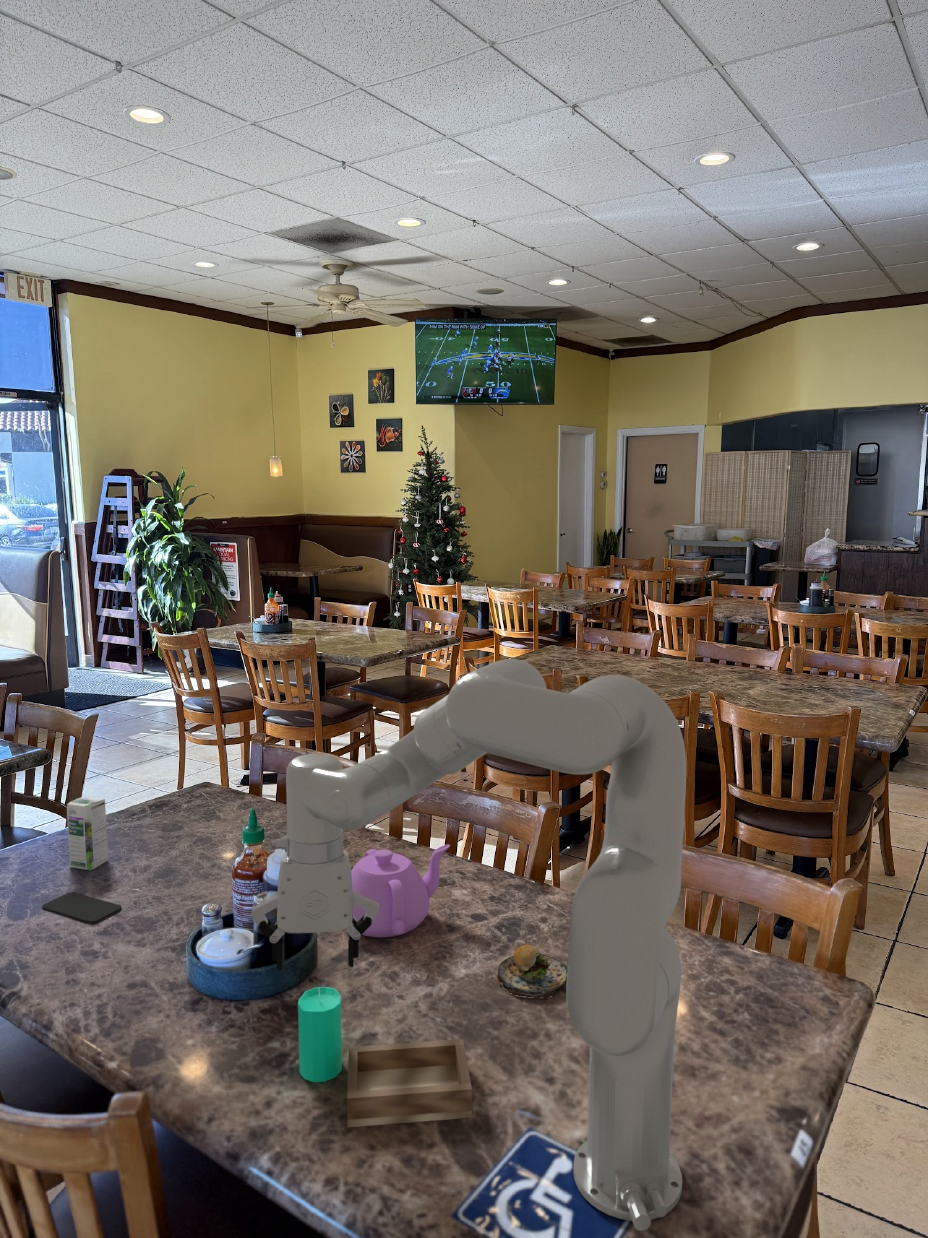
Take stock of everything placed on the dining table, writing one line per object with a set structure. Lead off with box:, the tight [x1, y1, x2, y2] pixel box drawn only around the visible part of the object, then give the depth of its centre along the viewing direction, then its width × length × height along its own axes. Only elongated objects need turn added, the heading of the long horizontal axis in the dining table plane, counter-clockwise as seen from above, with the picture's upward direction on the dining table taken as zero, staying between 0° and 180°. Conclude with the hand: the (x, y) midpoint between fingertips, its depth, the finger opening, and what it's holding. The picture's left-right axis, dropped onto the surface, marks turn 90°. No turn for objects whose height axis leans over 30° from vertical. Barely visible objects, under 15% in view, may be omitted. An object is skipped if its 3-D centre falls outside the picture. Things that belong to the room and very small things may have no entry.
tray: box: [346, 1038, 473, 1128], centre depth 115 cm, size 16×11×4 cm
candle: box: [297, 986, 343, 1083], centre depth 120 cm, size 6×6×12 cm
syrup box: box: [66, 796, 109, 872], centre depth 186 cm, size 6×6×14 cm
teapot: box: [351, 844, 451, 938], centre depth 162 cm, size 22×22×14 cm
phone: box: [41, 891, 122, 925], centre depth 167 cm, size 7×1×15 cm
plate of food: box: [496, 943, 567, 999], centre depth 142 cm, size 12×12×8 cm
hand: (316, 963), depth 118 cm, fingers open, 9 cm apart
